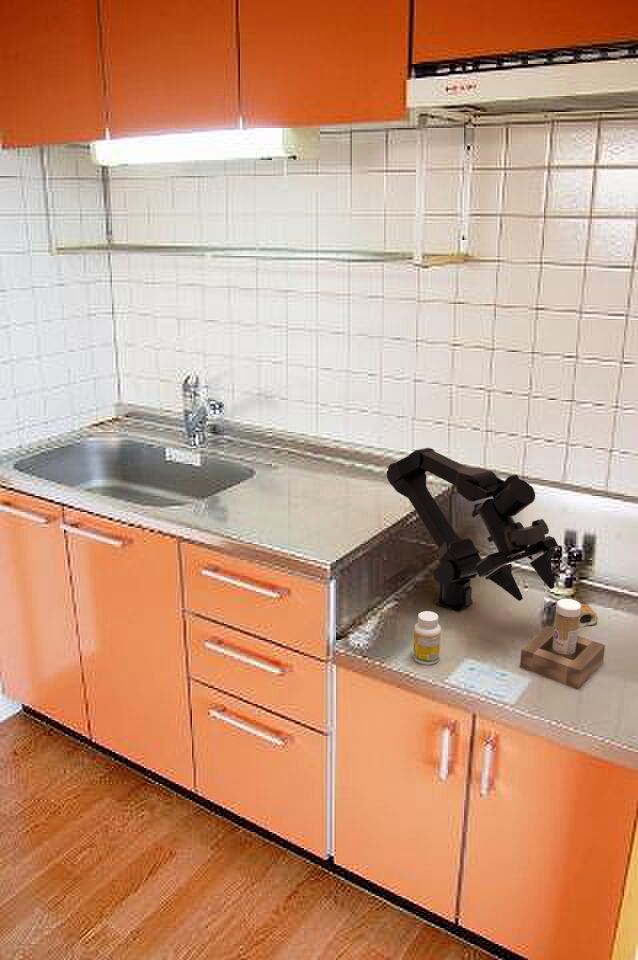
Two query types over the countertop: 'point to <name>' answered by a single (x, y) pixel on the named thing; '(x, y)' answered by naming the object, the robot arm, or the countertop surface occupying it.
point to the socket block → (562, 659)
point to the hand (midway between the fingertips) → (537, 594)
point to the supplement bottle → (427, 638)
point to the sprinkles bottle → (566, 628)
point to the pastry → (587, 616)
